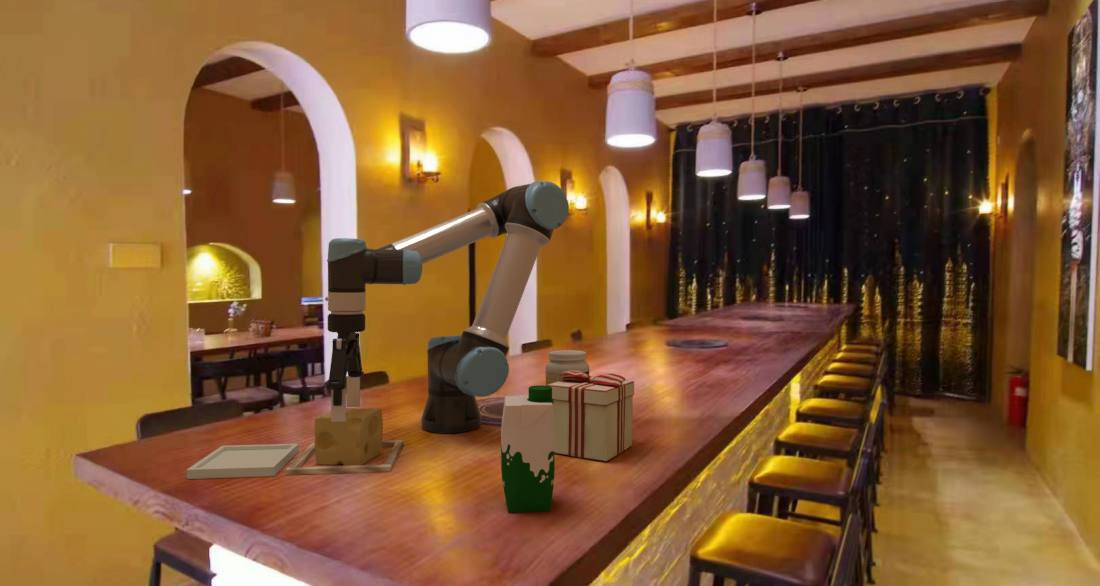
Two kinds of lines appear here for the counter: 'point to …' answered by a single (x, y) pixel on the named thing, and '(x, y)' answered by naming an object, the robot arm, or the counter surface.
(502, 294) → the robot arm
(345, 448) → the cheese
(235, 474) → the plate
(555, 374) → the supplement tub
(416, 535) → the counter surface
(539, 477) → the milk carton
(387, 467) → the wooden square frame
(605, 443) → the gift box
